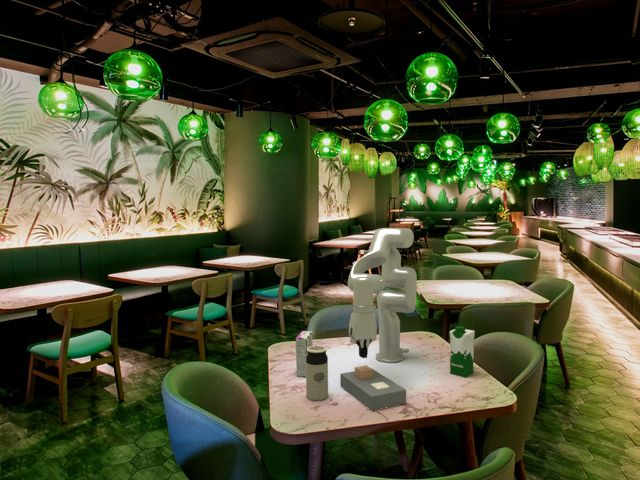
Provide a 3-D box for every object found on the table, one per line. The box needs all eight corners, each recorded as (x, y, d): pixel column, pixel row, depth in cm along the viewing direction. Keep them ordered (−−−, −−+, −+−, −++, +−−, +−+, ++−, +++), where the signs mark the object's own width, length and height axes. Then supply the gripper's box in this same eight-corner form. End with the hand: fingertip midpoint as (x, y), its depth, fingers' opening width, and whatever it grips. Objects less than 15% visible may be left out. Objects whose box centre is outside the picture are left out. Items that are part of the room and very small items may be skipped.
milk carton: (447, 373, 188) (447, 326, 187) (457, 368, 194) (457, 322, 193) (467, 378, 182) (467, 330, 181) (476, 372, 188) (477, 325, 187)
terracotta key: (366, 377, 176) (366, 365, 176) (372, 382, 171) (372, 369, 171) (354, 379, 174) (354, 367, 174) (361, 384, 169) (361, 371, 169)
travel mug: (307, 392, 170) (306, 345, 169) (328, 392, 170) (327, 345, 169) (305, 400, 162) (305, 351, 161) (327, 401, 162) (327, 351, 161)
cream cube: (382, 395, 165) (382, 381, 165) (389, 400, 161) (389, 386, 160) (370, 397, 163) (370, 384, 163) (377, 402, 159) (377, 388, 158)
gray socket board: (371, 380, 181) (371, 368, 181) (406, 403, 159) (406, 389, 159) (340, 386, 176) (340, 373, 175) (371, 411, 154) (371, 396, 153)
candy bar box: (302, 367, 197) (301, 330, 196) (313, 368, 196) (312, 331, 195) (295, 376, 186) (295, 337, 185) (307, 377, 185) (307, 338, 184)
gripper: (375, 306, 177) (375, 352, 178) (341, 309, 171) (341, 356, 172) (385, 309, 170) (385, 357, 171) (350, 312, 164) (350, 362, 165)
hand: (363, 357), depth 172 cm, fingers closed
